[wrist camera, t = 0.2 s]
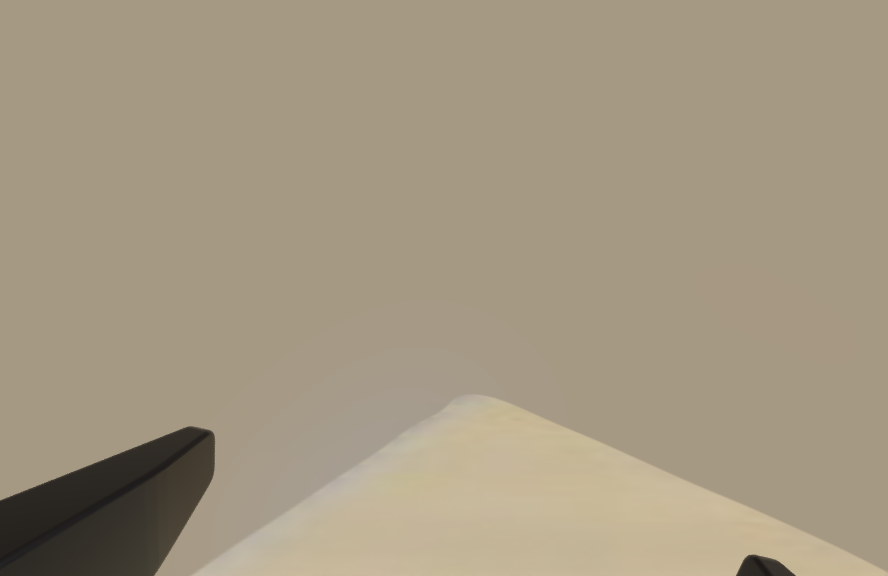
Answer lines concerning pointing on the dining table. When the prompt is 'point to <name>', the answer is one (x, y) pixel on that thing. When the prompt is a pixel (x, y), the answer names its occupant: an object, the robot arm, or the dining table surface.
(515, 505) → the dining table surface
